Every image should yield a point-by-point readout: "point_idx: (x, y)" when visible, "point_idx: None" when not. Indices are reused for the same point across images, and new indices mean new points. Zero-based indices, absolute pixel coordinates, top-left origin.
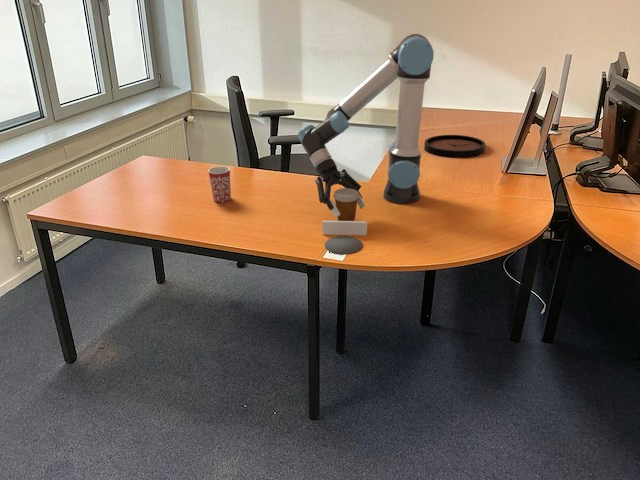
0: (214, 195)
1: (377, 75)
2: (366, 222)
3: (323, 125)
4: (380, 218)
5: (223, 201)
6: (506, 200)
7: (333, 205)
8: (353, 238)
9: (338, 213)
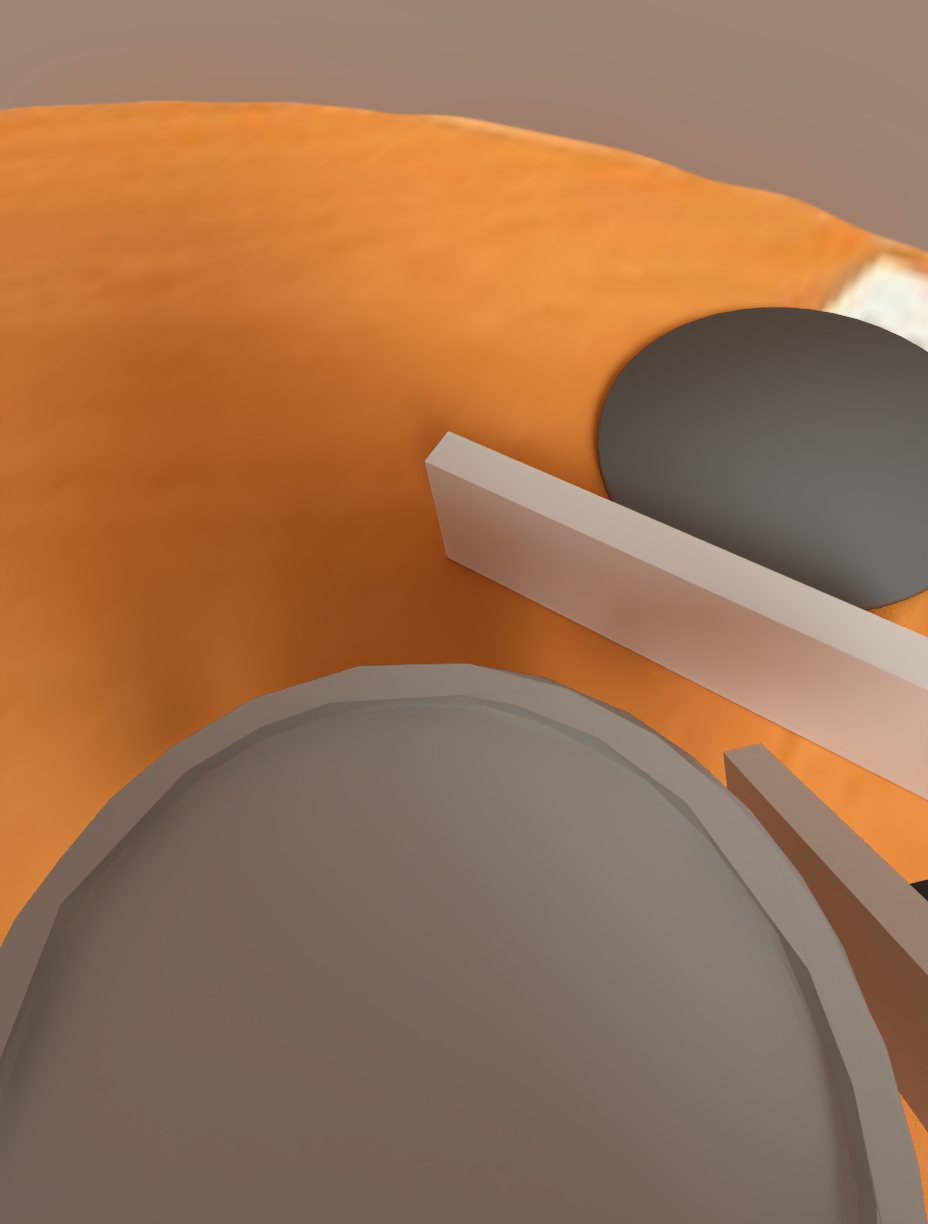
0: None
1: None
2: (452, 439)
3: None
4: (44, 843)
5: None
6: None
7: (918, 899)
8: (643, 495)
9: (771, 758)
